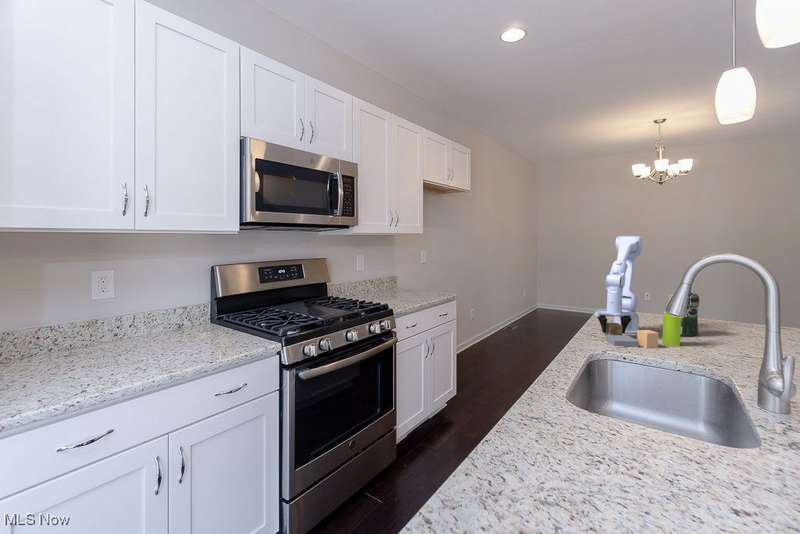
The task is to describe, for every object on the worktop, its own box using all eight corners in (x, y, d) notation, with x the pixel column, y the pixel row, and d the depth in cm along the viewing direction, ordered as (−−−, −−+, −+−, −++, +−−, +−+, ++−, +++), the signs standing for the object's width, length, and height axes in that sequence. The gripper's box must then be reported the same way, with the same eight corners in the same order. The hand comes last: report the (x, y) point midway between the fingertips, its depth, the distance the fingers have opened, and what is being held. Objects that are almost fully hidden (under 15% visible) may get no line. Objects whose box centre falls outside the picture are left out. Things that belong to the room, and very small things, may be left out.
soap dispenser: (681, 343, 156) (683, 295, 155) (678, 347, 151) (681, 297, 150) (663, 340, 160) (666, 293, 159) (660, 344, 155) (663, 295, 154)
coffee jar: (685, 331, 175) (687, 291, 173) (701, 336, 167) (704, 294, 166) (666, 332, 173) (668, 292, 172) (682, 337, 165) (684, 294, 164)
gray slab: (627, 342, 160) (627, 335, 160) (638, 348, 151) (638, 341, 151) (604, 341, 161) (605, 334, 161) (614, 348, 152) (614, 340, 152)
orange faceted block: (648, 344, 156) (648, 329, 156) (657, 347, 151) (658, 332, 151) (636, 344, 155) (637, 330, 155) (646, 348, 150) (647, 333, 150)
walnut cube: (616, 336, 168) (617, 322, 168) (621, 339, 163) (622, 325, 163) (604, 336, 169) (605, 322, 168) (609, 339, 164) (610, 325, 163)
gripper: (600, 303, 162) (599, 334, 163) (637, 303, 160) (635, 335, 161) (594, 300, 169) (593, 330, 170) (629, 300, 167) (627, 331, 168)
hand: (613, 333), depth 166 cm, fingers open, 7 cm apart
